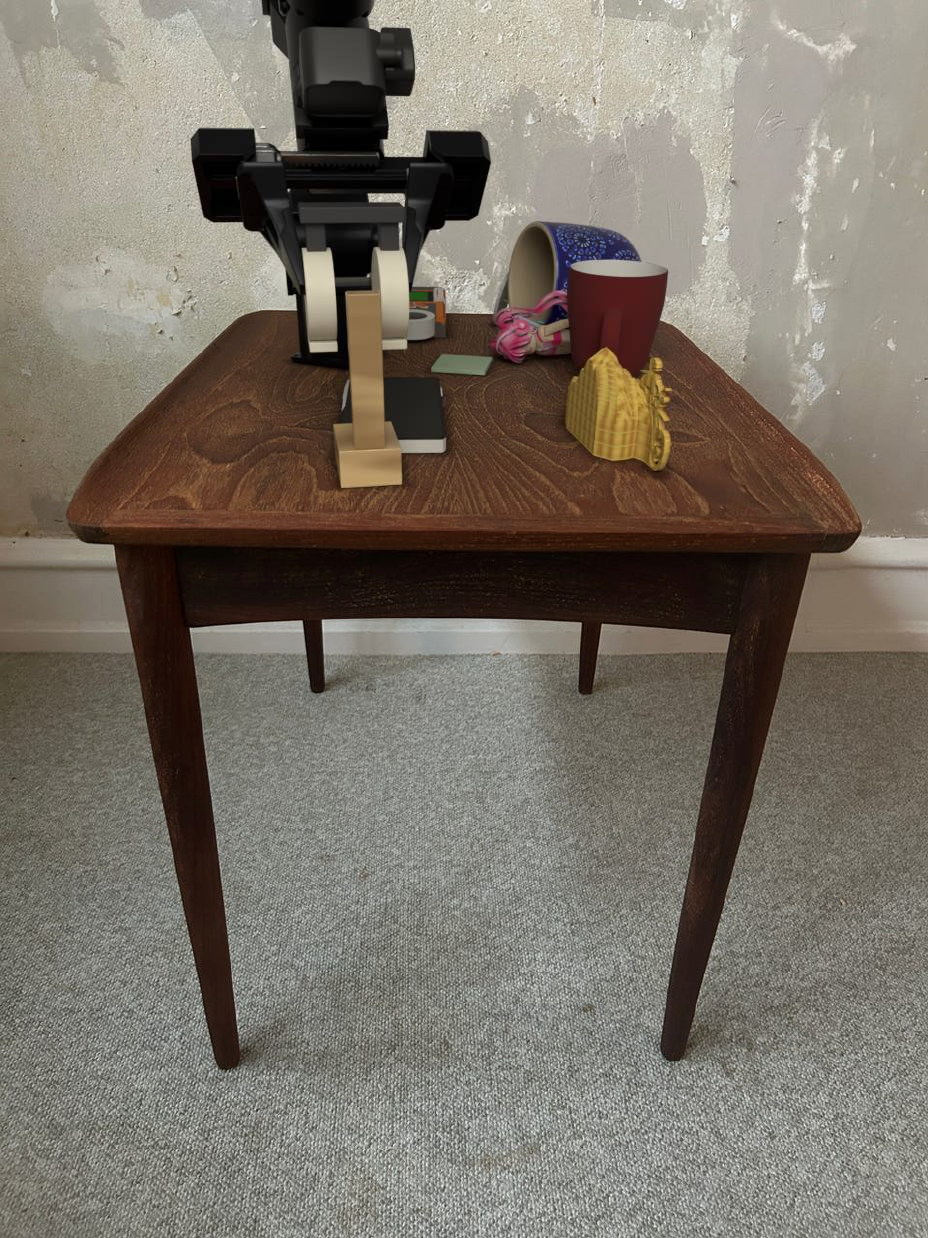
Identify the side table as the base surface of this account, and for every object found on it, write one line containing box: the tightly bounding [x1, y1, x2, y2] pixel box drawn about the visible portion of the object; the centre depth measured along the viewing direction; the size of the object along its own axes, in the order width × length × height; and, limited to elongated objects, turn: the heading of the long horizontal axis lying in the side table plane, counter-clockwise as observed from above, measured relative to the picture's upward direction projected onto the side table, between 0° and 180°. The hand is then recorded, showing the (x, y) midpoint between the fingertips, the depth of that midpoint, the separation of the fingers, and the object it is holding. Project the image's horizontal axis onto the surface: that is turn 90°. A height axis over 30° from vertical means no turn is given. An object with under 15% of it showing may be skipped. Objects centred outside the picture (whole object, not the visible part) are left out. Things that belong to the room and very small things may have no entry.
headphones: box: [298, 201, 409, 352], centre depth 56 cm, size 6×6×9 cm
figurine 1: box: [492, 271, 510, 326], centre depth 94 cm, size 6×6×8 cm
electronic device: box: [405, 286, 447, 341], centre depth 95 cm, size 7×3×15 cm
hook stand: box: [332, 290, 403, 489], centre depth 56 cm, size 6×4×12 cm, turn 11°
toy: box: [486, 290, 571, 364], centre depth 83 cm, size 7×6×15 cm
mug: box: [567, 260, 669, 379], centre depth 73 cm, size 10×8×10 cm
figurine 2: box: [564, 347, 673, 472], centre depth 62 cm, size 4×12×7 cm, turn 14°
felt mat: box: [430, 353, 494, 376], centre depth 82 cm, size 5×5×1 cm
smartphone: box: [338, 376, 447, 454], centre depth 68 cm, size 8×1×15 cm
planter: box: [508, 220, 643, 330], centre depth 89 cm, size 11×11×11 cm
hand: (356, 289), depth 55 cm, fingers closed on headphones, 6 cm apart
